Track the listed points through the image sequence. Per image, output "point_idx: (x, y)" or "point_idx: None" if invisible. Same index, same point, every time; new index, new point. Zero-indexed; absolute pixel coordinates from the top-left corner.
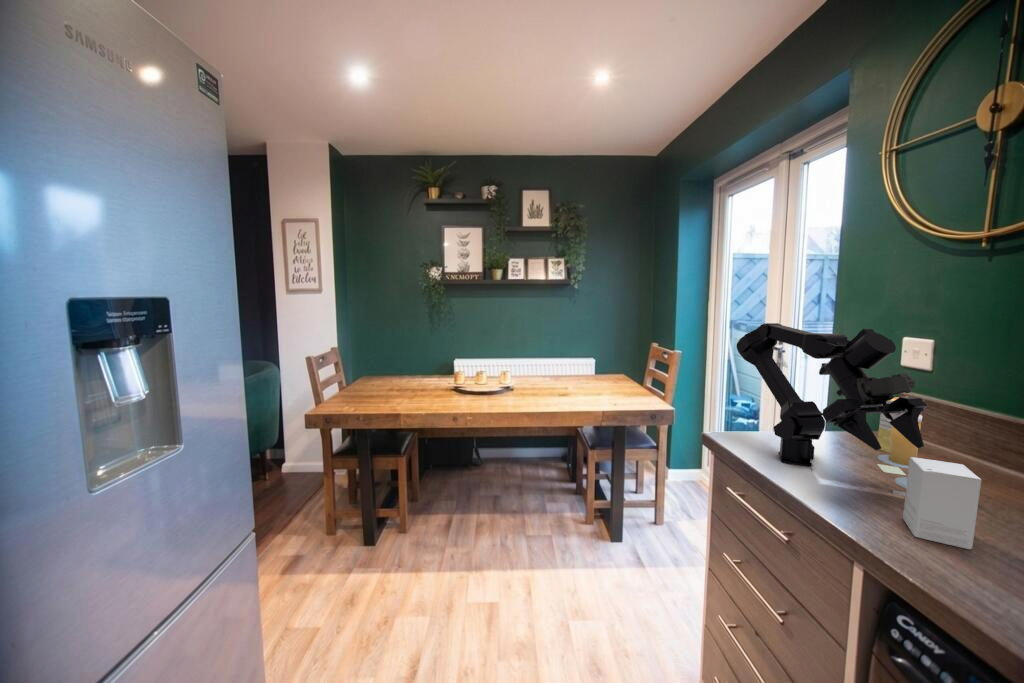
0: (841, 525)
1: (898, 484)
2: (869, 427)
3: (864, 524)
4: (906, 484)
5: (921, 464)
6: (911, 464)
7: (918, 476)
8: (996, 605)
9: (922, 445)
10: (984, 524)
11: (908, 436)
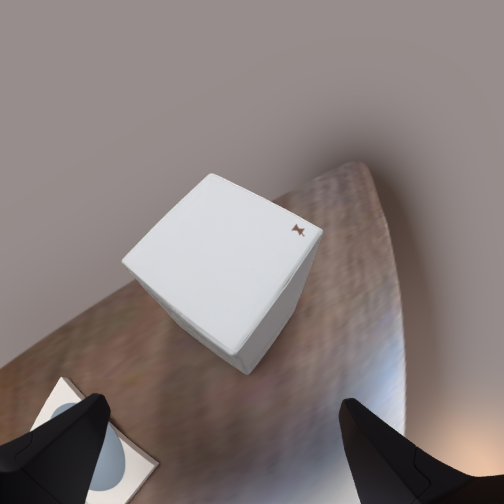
0: (397, 350)
1: (123, 474)
2: (402, 472)
3: (352, 356)
4: (106, 467)
5: (280, 270)
6: (259, 331)
7: (305, 269)
8: (327, 184)
9: (99, 395)
10: (109, 332)
11: (87, 460)
